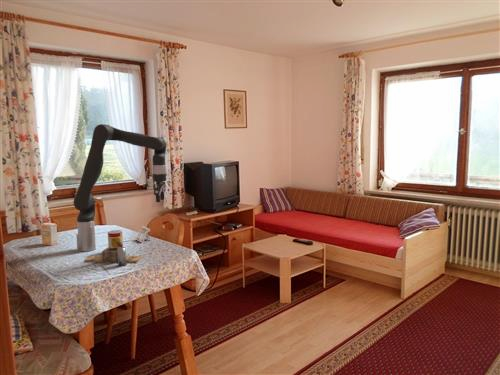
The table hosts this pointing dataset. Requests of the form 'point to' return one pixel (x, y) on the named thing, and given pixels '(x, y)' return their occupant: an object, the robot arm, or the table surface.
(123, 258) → the hinge pin
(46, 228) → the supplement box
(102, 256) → the hinge
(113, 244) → the canned food
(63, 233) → the table surface
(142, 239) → the portable electronic device stand
